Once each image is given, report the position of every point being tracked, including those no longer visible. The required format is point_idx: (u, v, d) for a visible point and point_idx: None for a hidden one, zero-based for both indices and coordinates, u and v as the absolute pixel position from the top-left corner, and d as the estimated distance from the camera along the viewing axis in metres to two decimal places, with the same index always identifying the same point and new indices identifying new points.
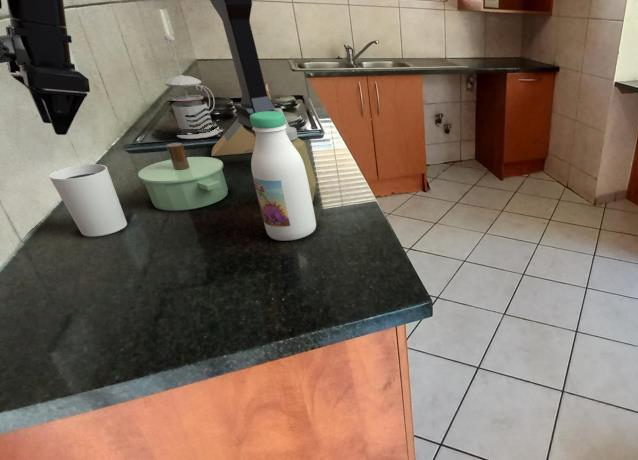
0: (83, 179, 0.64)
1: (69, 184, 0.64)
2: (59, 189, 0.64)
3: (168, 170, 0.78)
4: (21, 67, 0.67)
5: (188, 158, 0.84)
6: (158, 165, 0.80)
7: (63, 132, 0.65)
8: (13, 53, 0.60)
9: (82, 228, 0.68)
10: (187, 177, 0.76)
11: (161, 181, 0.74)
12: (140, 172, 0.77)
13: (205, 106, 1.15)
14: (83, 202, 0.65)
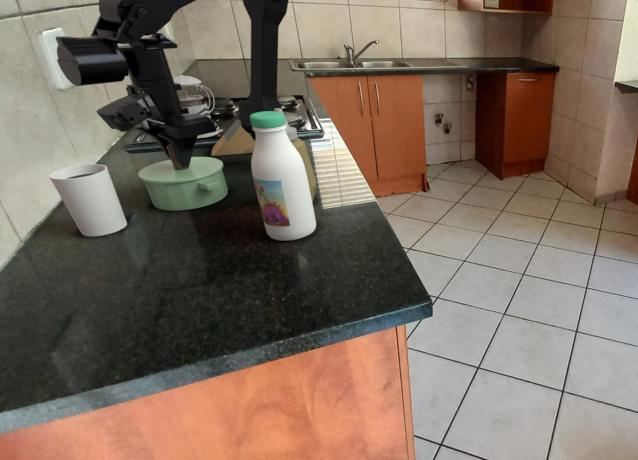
0: (83, 179, 0.64)
1: (69, 184, 0.64)
2: (59, 189, 0.64)
3: (168, 170, 0.78)
4: (146, 120, 0.75)
5: None
6: (158, 165, 0.80)
7: (187, 164, 0.79)
8: (148, 111, 0.71)
9: (82, 228, 0.68)
10: (187, 177, 0.76)
11: (161, 181, 0.74)
12: (140, 172, 0.77)
13: (205, 106, 1.15)
14: (83, 202, 0.65)
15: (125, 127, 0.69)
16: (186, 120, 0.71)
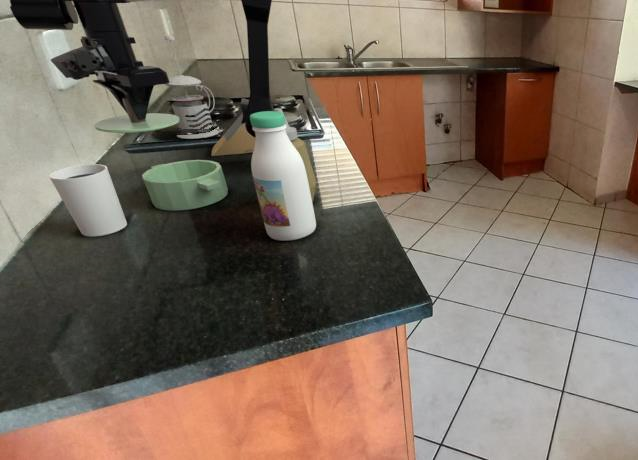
0: (83, 179, 0.64)
1: (69, 184, 0.64)
2: (59, 189, 0.64)
3: (124, 122, 0.82)
4: (102, 73, 0.78)
5: (146, 114, 0.88)
6: (116, 118, 0.84)
7: (143, 117, 0.83)
8: (102, 61, 0.74)
9: (82, 228, 0.68)
10: (141, 127, 0.80)
11: (116, 130, 0.78)
12: (97, 123, 0.80)
13: (205, 106, 1.15)
14: (83, 202, 0.65)
15: (78, 75, 0.72)
16: (138, 70, 0.74)
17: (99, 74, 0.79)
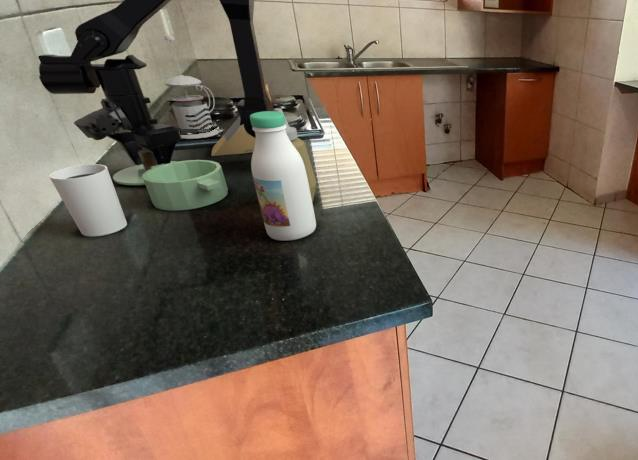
0: (83, 179, 0.64)
1: (69, 184, 0.64)
2: (59, 189, 0.64)
3: (140, 173, 0.89)
4: None
5: None
6: (132, 168, 0.91)
7: None
8: (120, 122, 0.81)
9: (82, 228, 0.68)
10: None
11: (132, 183, 0.84)
12: (115, 175, 0.87)
13: (205, 106, 1.15)
14: (83, 202, 0.65)
15: (99, 136, 0.79)
16: (153, 130, 0.81)
17: None
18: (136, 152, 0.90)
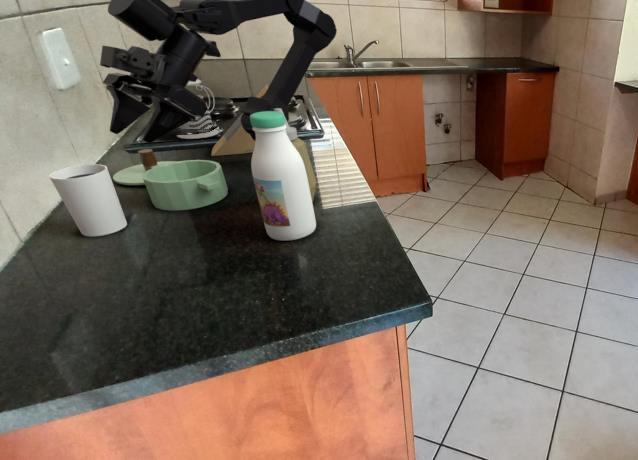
0: (83, 179, 0.64)
1: (69, 184, 0.64)
2: (59, 189, 0.64)
3: (140, 173, 0.89)
4: (124, 84, 0.73)
5: (160, 162, 0.95)
6: (132, 168, 0.91)
7: (149, 140, 0.70)
8: (153, 71, 0.69)
9: (82, 228, 0.68)
10: None
11: (132, 183, 0.84)
12: (115, 175, 0.87)
13: None
14: (83, 202, 0.65)
15: (119, 65, 0.66)
16: (185, 89, 0.69)
17: (119, 84, 0.73)
18: (123, 120, 0.73)
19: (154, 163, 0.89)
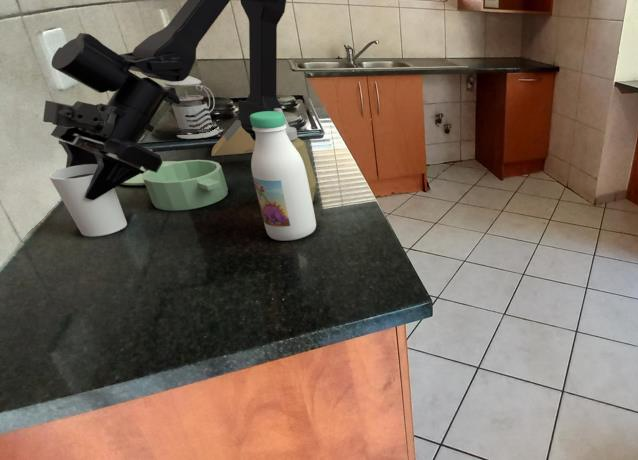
0: (83, 179, 0.64)
1: (69, 184, 0.64)
2: (59, 189, 0.64)
3: None
4: (79, 138, 0.68)
5: None
6: None
7: (93, 197, 0.66)
8: (102, 125, 0.65)
9: (82, 228, 0.68)
10: None
11: (132, 183, 0.84)
12: None
13: (205, 106, 1.15)
14: (82, 202, 0.65)
15: (62, 122, 0.61)
16: None
17: (73, 138, 0.68)
18: None
19: None
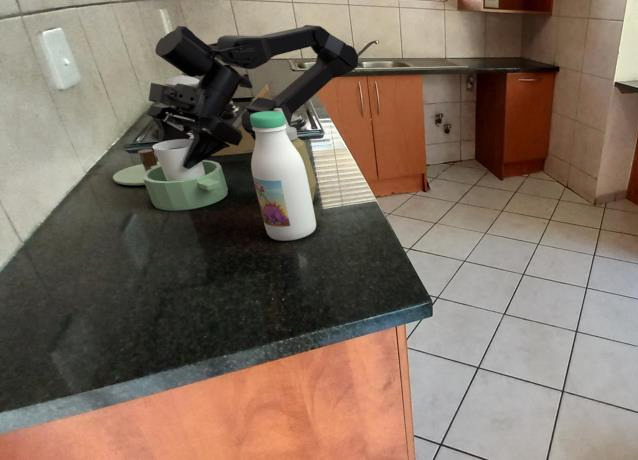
0: (181, 150, 0.76)
1: (170, 154, 0.75)
2: (161, 159, 0.76)
3: (140, 173, 0.89)
4: (169, 115, 0.80)
5: None
6: (132, 168, 0.91)
7: (189, 166, 0.77)
8: (195, 104, 0.77)
9: None
10: None
11: (132, 183, 0.84)
12: (115, 175, 0.87)
13: None
14: (179, 170, 0.77)
15: (166, 100, 0.73)
16: (224, 121, 0.76)
17: (164, 115, 0.80)
18: None
19: (154, 163, 0.89)
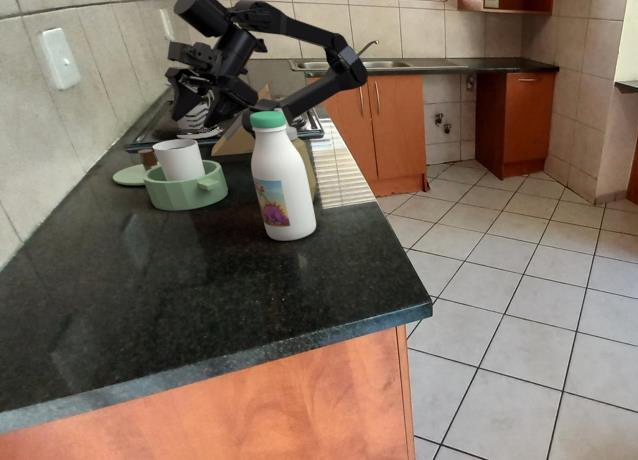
0: (181, 150, 0.76)
1: (170, 154, 0.75)
2: (161, 159, 0.76)
3: (140, 173, 0.89)
4: (184, 76, 0.81)
5: None
6: (132, 168, 0.91)
7: (209, 126, 0.78)
8: (212, 64, 0.78)
9: None
10: None
11: (132, 183, 0.84)
12: (115, 175, 0.87)
13: (205, 106, 1.15)
14: (179, 170, 0.77)
15: (185, 58, 0.74)
16: (242, 80, 0.77)
17: (179, 76, 0.81)
18: (182, 109, 0.81)
19: (154, 163, 0.89)
